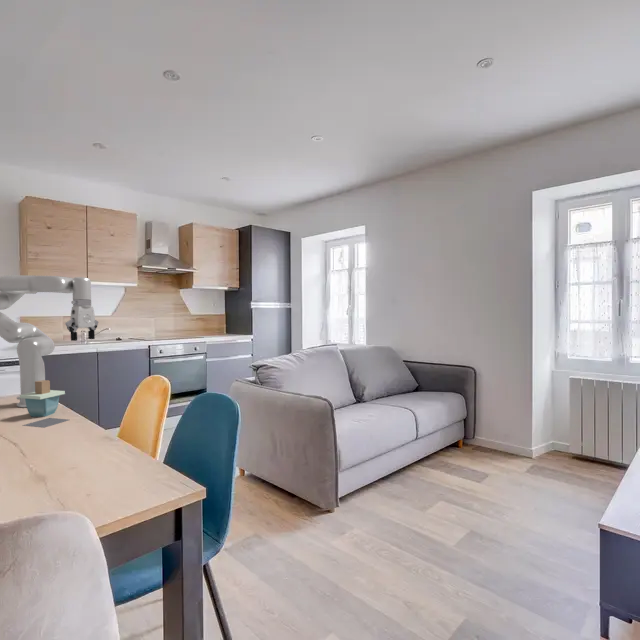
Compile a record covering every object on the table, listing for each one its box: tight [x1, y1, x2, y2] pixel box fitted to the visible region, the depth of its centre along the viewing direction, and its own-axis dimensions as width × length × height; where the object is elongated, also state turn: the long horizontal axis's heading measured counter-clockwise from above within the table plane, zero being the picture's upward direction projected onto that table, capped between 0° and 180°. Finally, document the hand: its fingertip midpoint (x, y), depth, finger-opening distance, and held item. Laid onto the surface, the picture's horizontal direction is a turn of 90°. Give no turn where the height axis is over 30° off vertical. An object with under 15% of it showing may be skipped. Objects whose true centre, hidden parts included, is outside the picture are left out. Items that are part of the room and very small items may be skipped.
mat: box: [22, 417, 69, 429], centre depth 156 cm, size 11×11×1 cm
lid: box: [19, 379, 66, 399], centre depth 167 cm, size 11×11×6 cm
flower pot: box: [25, 395, 60, 418], centre depth 167 cm, size 9×9×9 cm
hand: (83, 339), depth 191 cm, fingers open, 9 cm apart
